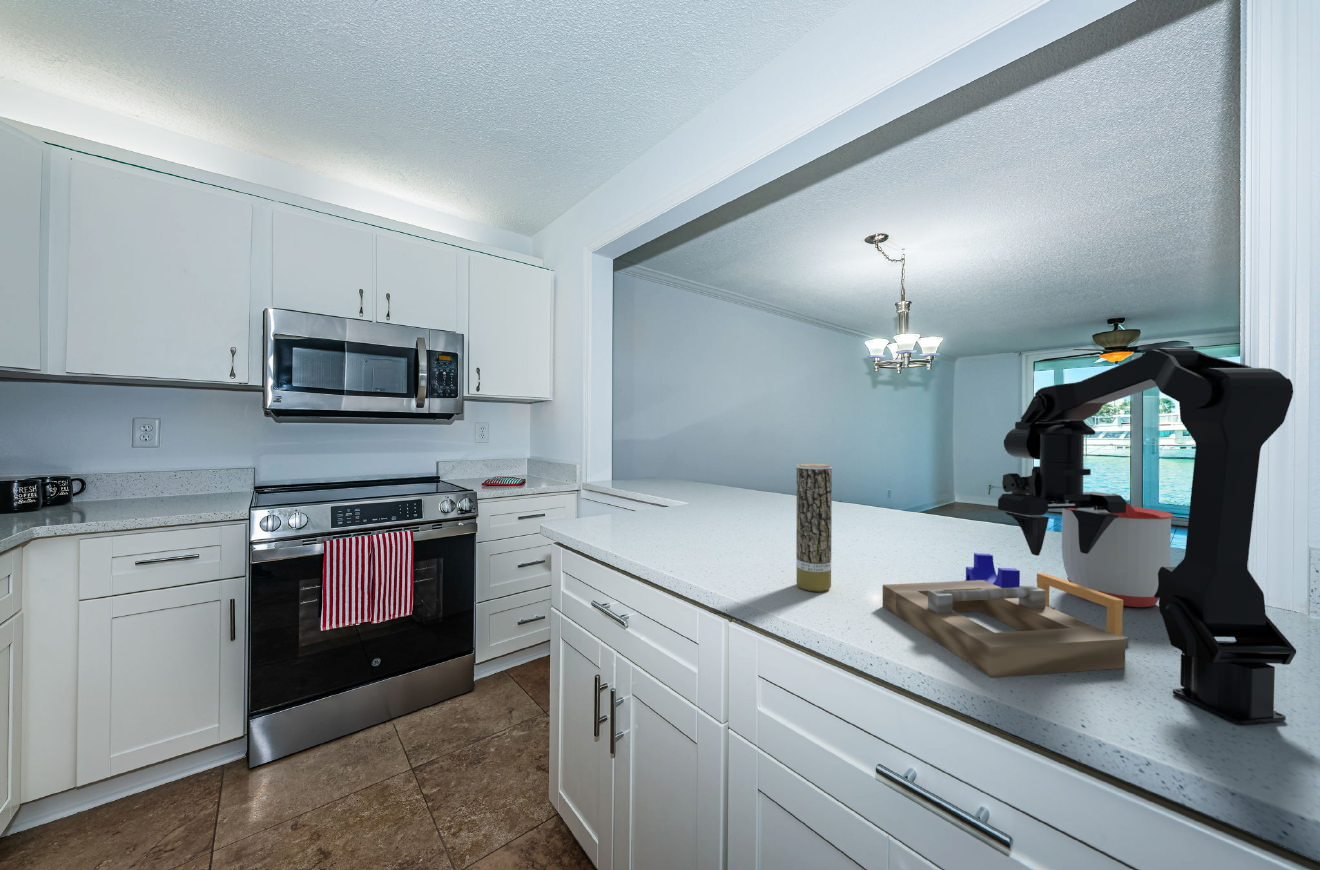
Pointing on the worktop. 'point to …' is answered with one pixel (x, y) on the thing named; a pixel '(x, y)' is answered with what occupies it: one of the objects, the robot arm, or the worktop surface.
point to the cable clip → (992, 572)
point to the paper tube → (814, 526)
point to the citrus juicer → (1121, 555)
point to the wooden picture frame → (1032, 650)
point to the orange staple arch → (1110, 602)
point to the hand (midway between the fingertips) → (1059, 554)
